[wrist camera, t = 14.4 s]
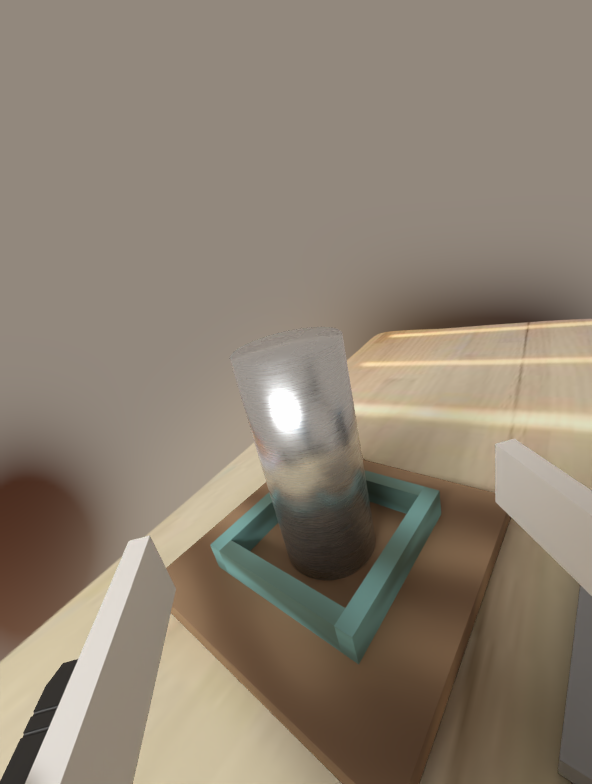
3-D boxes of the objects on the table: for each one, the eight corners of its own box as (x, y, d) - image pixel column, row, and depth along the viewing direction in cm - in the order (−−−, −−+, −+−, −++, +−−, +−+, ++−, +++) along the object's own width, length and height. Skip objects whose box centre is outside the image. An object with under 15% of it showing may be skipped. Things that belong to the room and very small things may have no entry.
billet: (320, 500, 28) (281, 328, 22) (391, 526, 24) (363, 325, 18) (269, 555, 24) (206, 362, 18) (344, 597, 20) (291, 368, 14)
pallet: (311, 458, 36) (304, 429, 35) (511, 514, 24) (512, 473, 23) (156, 598, 24) (137, 562, 23) (399, 840, 12) (388, 794, 11)
